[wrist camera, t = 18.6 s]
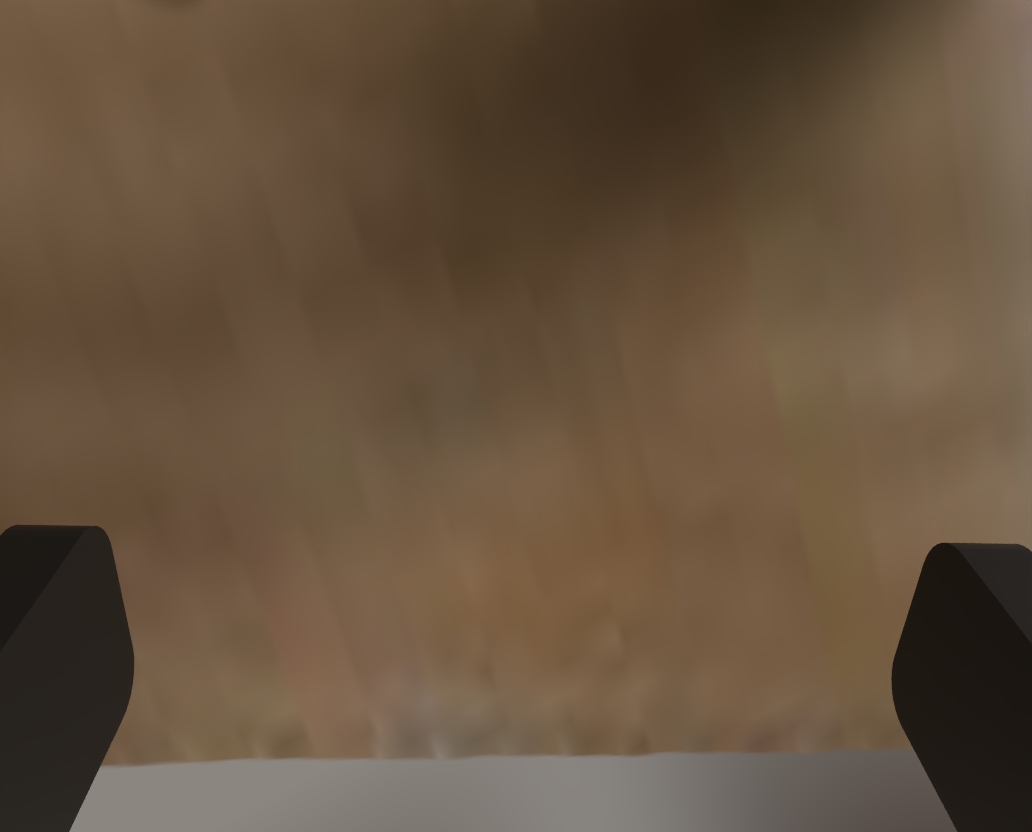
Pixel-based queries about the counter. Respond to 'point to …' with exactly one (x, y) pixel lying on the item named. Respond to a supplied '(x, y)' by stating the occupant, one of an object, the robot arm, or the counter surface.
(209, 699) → the counter surface
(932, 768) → the robot arm
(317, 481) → the counter surface
